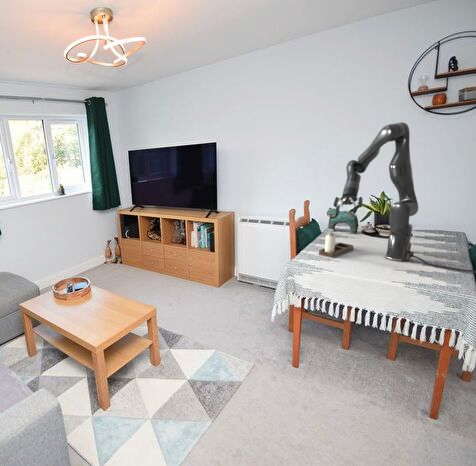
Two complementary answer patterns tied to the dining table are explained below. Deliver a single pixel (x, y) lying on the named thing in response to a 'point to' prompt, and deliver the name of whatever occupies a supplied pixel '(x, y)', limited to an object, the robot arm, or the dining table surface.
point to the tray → (337, 250)
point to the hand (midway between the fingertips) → (345, 212)
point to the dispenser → (330, 241)
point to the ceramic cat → (342, 219)
